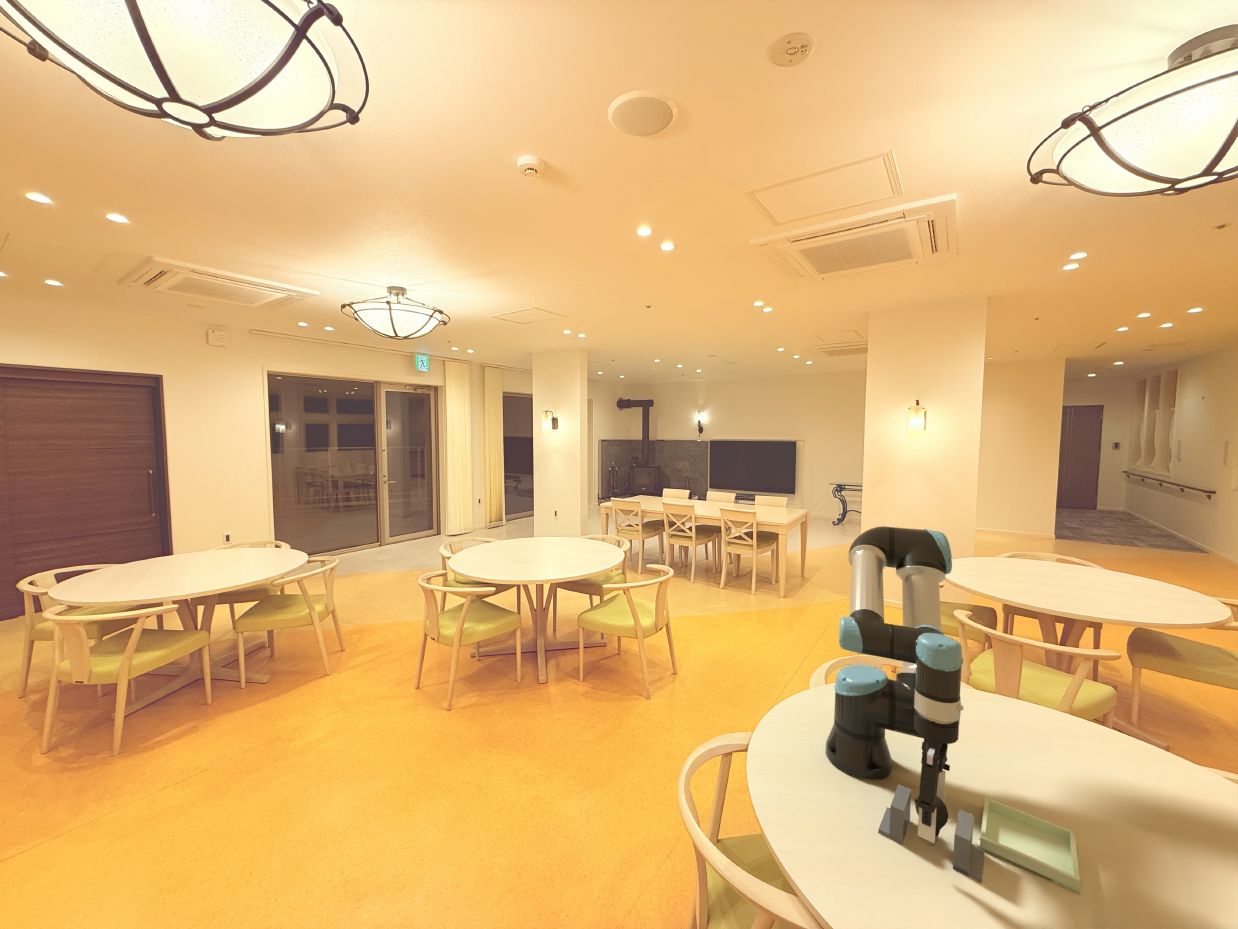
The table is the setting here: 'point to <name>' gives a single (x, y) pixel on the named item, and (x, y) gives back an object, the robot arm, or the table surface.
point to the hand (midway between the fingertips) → (931, 818)
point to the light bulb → (937, 817)
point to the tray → (1030, 844)
